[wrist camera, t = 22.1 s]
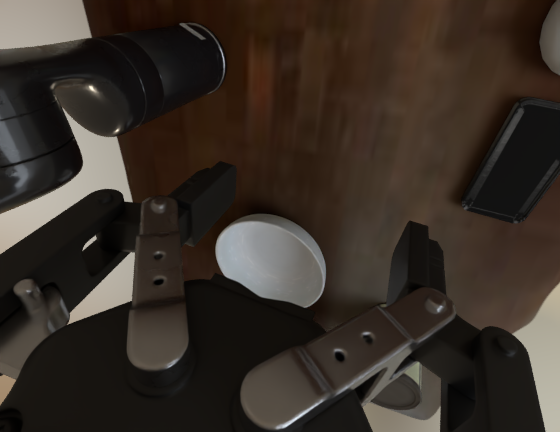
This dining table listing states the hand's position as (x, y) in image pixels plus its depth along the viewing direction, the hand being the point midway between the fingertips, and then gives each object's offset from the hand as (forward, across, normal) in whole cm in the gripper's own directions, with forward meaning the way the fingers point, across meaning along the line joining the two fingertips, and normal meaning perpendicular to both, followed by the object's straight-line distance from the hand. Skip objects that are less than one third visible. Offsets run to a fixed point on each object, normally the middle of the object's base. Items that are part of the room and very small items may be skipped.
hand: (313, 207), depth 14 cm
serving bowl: (+32, +9, +34) cm, 48 cm away
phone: (+32, -19, +7) cm, 38 cm away
